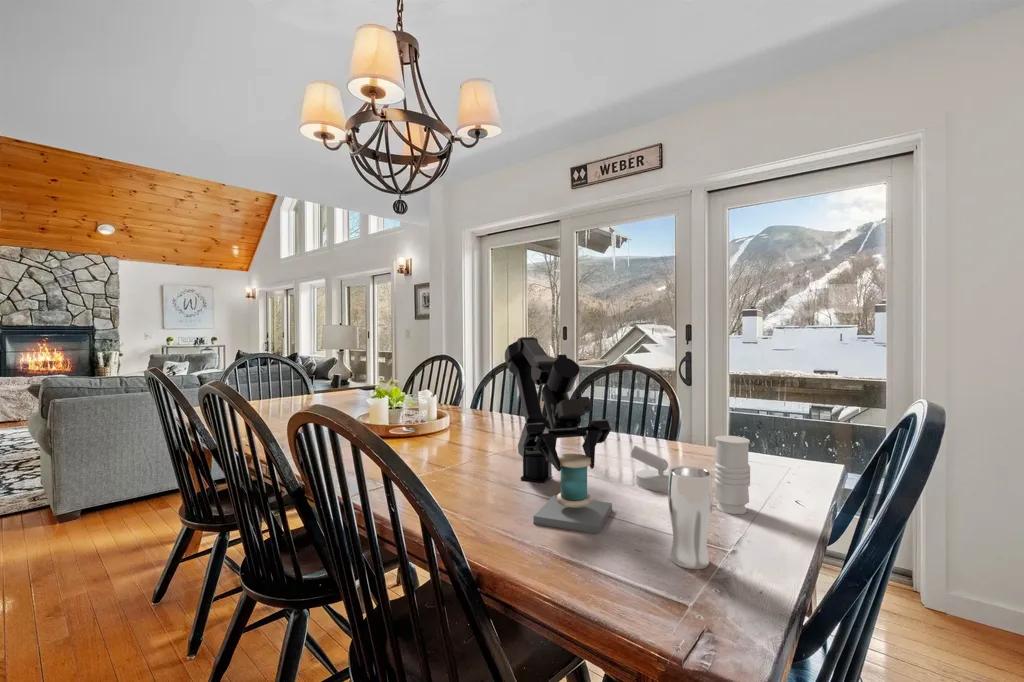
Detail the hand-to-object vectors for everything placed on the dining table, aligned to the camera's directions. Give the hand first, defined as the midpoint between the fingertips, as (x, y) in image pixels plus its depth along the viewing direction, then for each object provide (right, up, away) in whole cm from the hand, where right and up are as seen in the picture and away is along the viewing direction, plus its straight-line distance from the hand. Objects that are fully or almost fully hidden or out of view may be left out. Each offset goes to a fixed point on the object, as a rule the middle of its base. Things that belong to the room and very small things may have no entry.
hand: (576, 469), depth 99 cm
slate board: (0, -10, +2) cm, 10 cm away
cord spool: (0, -7, +2) cm, 7 cm away
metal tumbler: (+17, -11, -18) cm, 26 cm away
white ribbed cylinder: (+34, -10, +5) cm, 36 cm away
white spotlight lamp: (+21, -10, +22) cm, 32 cm away
